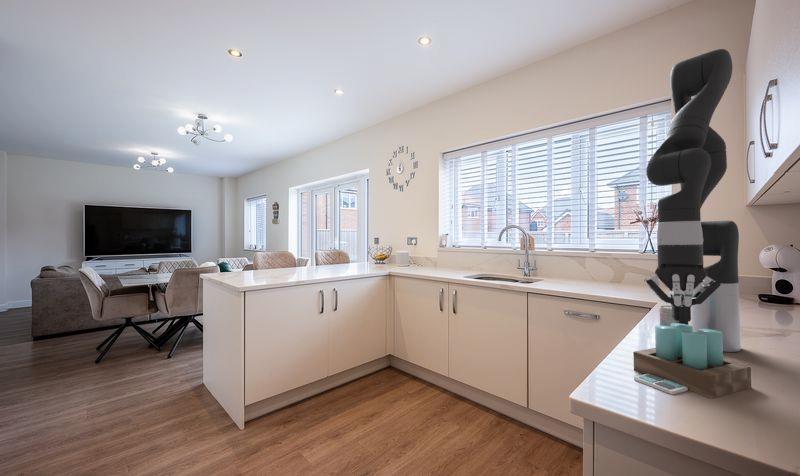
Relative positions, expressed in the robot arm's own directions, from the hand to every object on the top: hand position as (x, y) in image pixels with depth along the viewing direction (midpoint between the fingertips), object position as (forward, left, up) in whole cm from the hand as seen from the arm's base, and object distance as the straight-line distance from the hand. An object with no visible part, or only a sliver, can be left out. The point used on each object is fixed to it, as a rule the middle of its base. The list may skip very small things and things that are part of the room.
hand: (681, 322), depth 70 cm
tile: (+11, +2, -11) cm, 16 cm away
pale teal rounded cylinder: (+5, 0, -8) cm, 9 cm away
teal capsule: (0, 0, -8) cm, 8 cm away
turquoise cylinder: (0, +5, -8) cm, 9 cm away
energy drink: (-9, -7, -11) cm, 15 cm away
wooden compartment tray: (+2, +2, -11) cm, 11 cm away
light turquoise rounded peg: (+5, +5, -8) cm, 11 cm away
